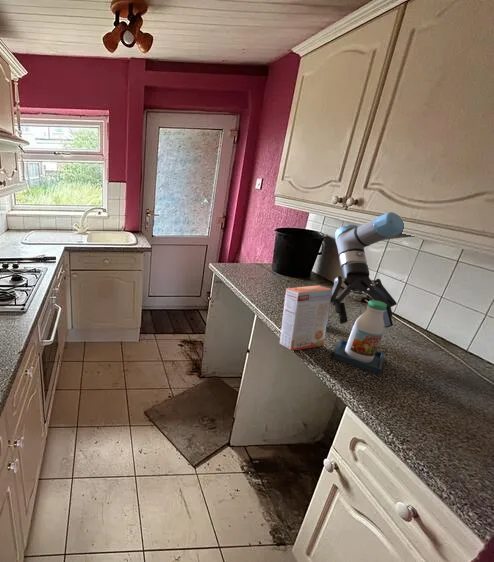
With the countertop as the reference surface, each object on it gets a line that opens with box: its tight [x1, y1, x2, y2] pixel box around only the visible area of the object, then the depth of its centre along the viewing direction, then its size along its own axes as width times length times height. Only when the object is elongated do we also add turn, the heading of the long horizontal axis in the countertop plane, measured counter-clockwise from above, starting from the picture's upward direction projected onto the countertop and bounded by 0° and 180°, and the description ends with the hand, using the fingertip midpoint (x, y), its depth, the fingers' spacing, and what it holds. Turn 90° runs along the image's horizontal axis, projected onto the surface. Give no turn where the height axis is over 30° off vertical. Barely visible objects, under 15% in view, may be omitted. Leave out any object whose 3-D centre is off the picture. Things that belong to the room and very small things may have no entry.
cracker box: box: [279, 285, 333, 352], centre depth 107 cm, size 14×6×21 cm, turn 105°
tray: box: [332, 338, 385, 376], centre depth 104 cm, size 12×12×2 cm
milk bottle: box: [345, 299, 387, 363], centre depth 100 cm, size 8×8×20 cm
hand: (366, 324), depth 101 cm, fingers open, 13 cm apart
